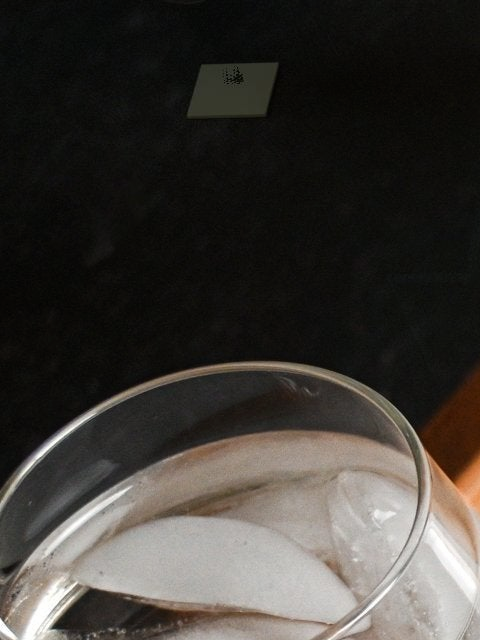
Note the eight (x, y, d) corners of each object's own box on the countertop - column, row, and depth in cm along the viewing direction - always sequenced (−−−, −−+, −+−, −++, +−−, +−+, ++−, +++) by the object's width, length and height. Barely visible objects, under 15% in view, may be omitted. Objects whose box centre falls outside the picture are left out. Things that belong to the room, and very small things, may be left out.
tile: (187, 119, 145) (186, 115, 145) (202, 67, 148) (201, 64, 148) (266, 117, 144) (265, 113, 144) (279, 65, 148) (278, 62, 147)
